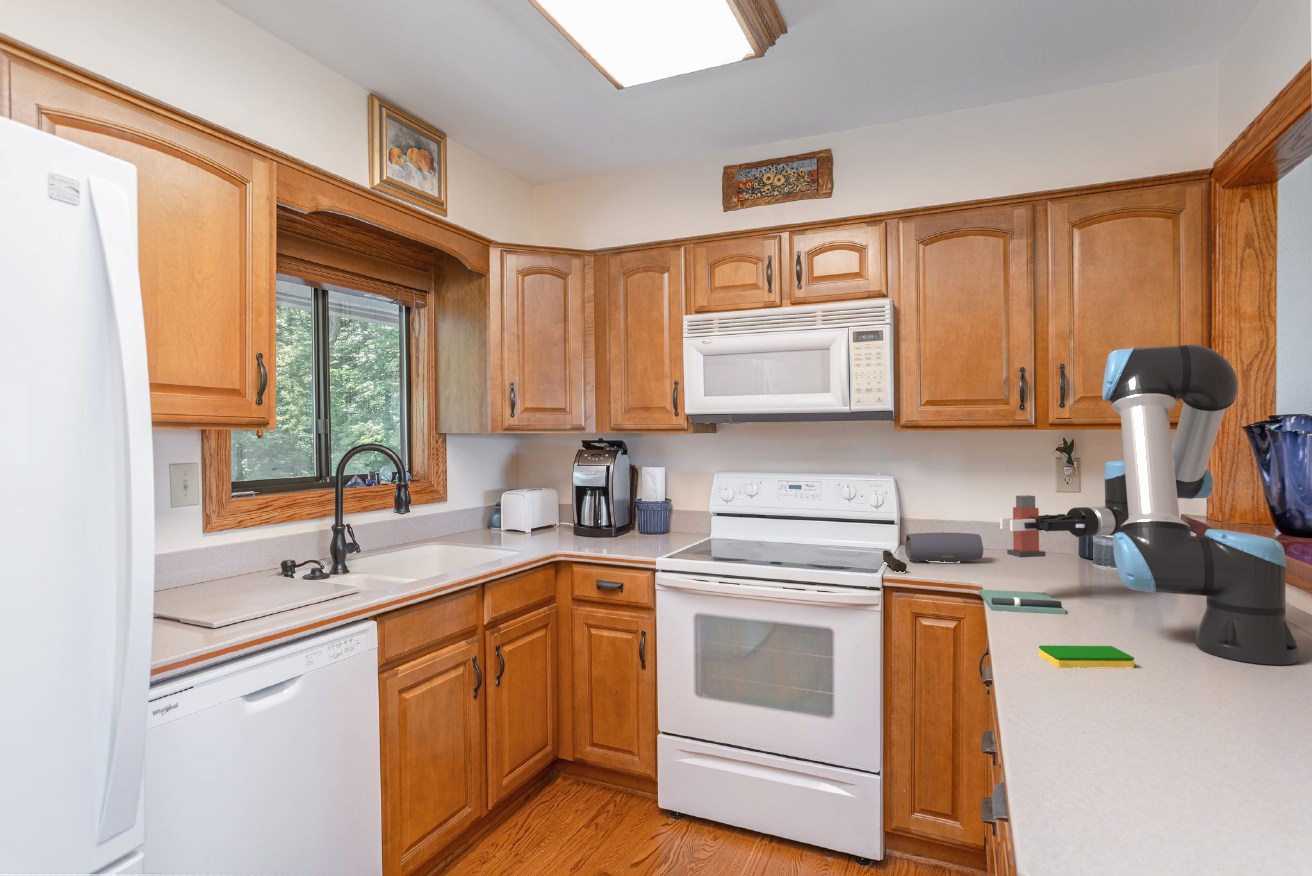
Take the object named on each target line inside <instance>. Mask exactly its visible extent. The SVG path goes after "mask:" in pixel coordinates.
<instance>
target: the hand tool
mask: <svg viewBox="0 0 1312 876" xmlns="http://www.w3.org/2000/svg"><path fill="white" fill-rule="evenodd" d="M882 557H883V558H882V560H884V561H883V563H884V562H886V563H887V564H888V566H887V567H889V566H890V567H889V568H890V569H891V570H893V571H892V572H894V571H896V572H899V571H901V572H904V571H906V572H907V568H908V567H907V563H905V562H903V561H901V559H898V558H896V557H895V556H894V555H893V552H891V551H889V550H887V549H886V550H883V551H882Z"/></svg>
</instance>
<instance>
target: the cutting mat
mask: <svg viewBox="0 0 1312 876" xmlns="http://www.w3.org/2000/svg"><path fill="white" fill-rule="evenodd" d="M978 594H979V596H981V598H982V599H983V601H984V602H985V604H986V605H987V606H988V607H989V609H990V610H991V611H1001V612H1003V611H1004V612H1005V611H1006V612H1020V613H1039V614H1055V615H1056V614H1058V615H1066V609H1065V608H1064V607H1063V606H1062V605H1063V604H1062V601H1061V600H1054V598H1052V597H1051V596H1050V595H1049V593H1046V592H1041V591H1040V592H1038V591H1037V592H1036V591H1019V590H998V589H997V590H995V589H978Z"/></svg>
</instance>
